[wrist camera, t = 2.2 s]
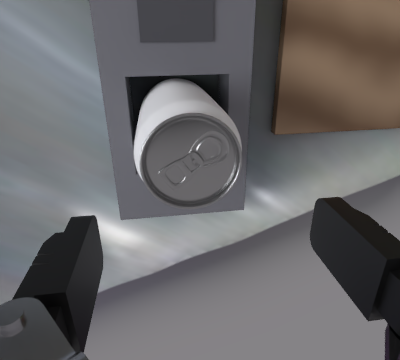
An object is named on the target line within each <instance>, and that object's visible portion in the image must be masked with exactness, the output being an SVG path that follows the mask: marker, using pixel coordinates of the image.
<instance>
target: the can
mask: <svg viewBox="0 0 400 360" xmlns="http://www.w3.org/2000/svg"><path fill="white" fill-rule="evenodd" d="M134 161H135V165H136V169H137V171H138V174H139V176H140V177H141V179H142V181H143V182H144V184H145V185H146V187H147V189H148V190H149V191H150V192H151V194H152V195H153V196H154V197H156V198H157V199H158V200H160V201H161V202H163V203H165V204H167V205H169V206H172V207H175V208H179V209H198V208H203V207H206V206H209V205H211V204H213V203H215V202H217V201H219V200H220V199H222V198H223V197H224V196H225V195H226V194H227V193H228V192H229V191H230V190H231V189H232V188H233V186H234V185H235V183H236V181H237V179H238V177H239V175H240V171H241V167H242V144H241V139H240V135H239V132H238V130H237V128H236V126H235V124H234V122H233V121H232V119H231V118H230V117H229V116H228V114H227V113H226V112H225V111H224V110H223V109H222V108H221V107H220V106H219V105H218V104H217V103H216V102H215V101H214V100H213V99H212V98H211V97H210V96H209V95H208V94H207V93H206V92H205V91H204V90H203V89H202V88H201V87H199V86H198V85H197V84H195V83H193V82H191V81H189V80H186V79H180V78H173V79H167V80H164V81H162V82H160V83H158V84H156V85H155V86H154V87H152V88H151V89H150V90H149V92H148V93H147V94H146V96H145V97H144V99H143V102H142V105H141V109H140V113H139V118H138V123H137V129H136V135H135V141H134Z"/></svg>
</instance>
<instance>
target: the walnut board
mask: <svg viewBox="0 0 400 360" xmlns="http://www.w3.org/2000/svg"><path fill="white" fill-rule="evenodd" d="M390 128H400V0H283V7H282V18H281V29H280V40H279V51H278V62H277V73H276V84H275V95H274V106H273V117H272V129H271V132H272V133H273V134H275V135H278V134H297V133H316V132H334V131H353V130H372V129H390Z"/></svg>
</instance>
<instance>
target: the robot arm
mask: <svg viewBox="0 0 400 360" xmlns="http://www.w3.org/2000/svg"><path fill="white" fill-rule="evenodd" d="M310 241H311V245H312V247H313V250H314V251H315V252H316V254H317V255H318V256H319V257H320V259H321V260H322V262H323V263H324V264H325V265H326V267H327V268H328V269H329V271H330V272H331V273H332V275H333V276H334V277H335V278H336V280H337V281H338V282H339V284H340V285H341V286H342V288H343V289H344V290H345V292H346V293H347V294H348V296H349V297H350V298H351V299H352V301H353V302H354V303H355V305H356V306H357V307H358V309H359V310H360V311H361V312H362V314H363V315H364V317H365V318H366V319H367V320H368V321H372V320H380V319H385V320H386V321H387V323H388V324H387V327H386V330H385V360H400V241H399V240H398V239H397V238H396V237H394V236H393V235H392V234H391V233H388V231H387V230H386V229H384V228H383V227H382V226H379V224H378V223H377V222H376V221H375V220H373V219H372V218H371V217H370V216H368V215H366V214H364V213H362V212H360V211H358V210H356V209H354V208H352V207H351V206H350V205H349V204H348V203H346V202H345V201H344V200H343V199H342V198H340V197H331V198H319V199H318V200H317V201H316V203H315V207H314V213H313V219H312V225H311V231H310ZM102 270H103V252H102V246H101V240H100V235H99V229H98V224H97V219H96V217H95V216H94V215H92V216H79V217H71V219H70V221H69V223H68V225H67V227H66V229H65V231H64V232H61V233H55V234H54V235H52V236H51V237H50V238H49V239H48V240H46V241H45V242H44V243H43V245H42V247H41V248H40V250H39V252H38V254H37V256H36V257H35V259H34V261H33V263H32V266H30V268H29V270H28V272H27V274H26V276H25V277H24V279H23V281H22V283H21V285H20V286H19V288H18V290H17V292H16V294H15V295H14V297H13V299H12V300H11V301H8V302H6V303H4V304H2V305H0V360H88V358H87V357H86V355H85V354H84V353H83V352H84V349H85V344H86V340H87V336H88V331H89V327H90V322H91V318H92V314H93V309H94V305H95V301H96V296H97V292H98V288H99V283H100V279H101V275H102Z"/></svg>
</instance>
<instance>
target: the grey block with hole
mask: <svg viewBox="0 0 400 360" xmlns="http://www.w3.org/2000/svg"><path fill="white" fill-rule="evenodd" d="M89 3H90V10H91V17H92V24H93V31H94V38H95V45H96V52H97V59H98V66H99V72H100V79H101V86H102V93H103V100H104V107H105V114H106V121H107V128H108V135H109V142H110V148H111V155H112V162H113V169H114V176H115V183H116V190H117V197H118V204H119V211H120V217H121V220H126V219H138V218H150V217H162V216H174V215H186V214H198V213H210V212H222V211H233V210H244V200H245V182H246V165H247V147H248V130H249V112H250V95H251V78H252V60H253V43H254V25H255V8H256V0H89ZM207 74H219V104H218V105H219V106H220V107H221V108H222V109H223V110H224V111H225V112H226V113H227V114H228V116H229V117H230V118H231V119H232V121H233V122H234V124H235V126H236V128H237V130H238V132H239V135H240V139H241V144H242V167H241V171H240V175H239V177H238V179H237V181H236V183H235V185H234V186H233V188H232V189H231V190H230V191H229V192H228V193H227V194H226V195H225V196H224V197H223V198H222V199H220V200H219V201H217V202H215V203H213V204H211V205H209V206H206V207H203V208H198V209H179V208H175V207H172V206H169V205H167V204H165V203H163V202H161V201H160V200H158V199H157V198H156V197H154V196H153V195H152V194H151V192H150V191H149V190H148V189H147V187H146V185H145V184H144V182H143V181H142V179H141V177H140V176H139V174H138V171H137V169H136V165H135V161H134V141H135V135H136V133H135V124H134V114H133V105H132V96H131V86H130V77H135V76H171V75H207Z"/></svg>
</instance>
